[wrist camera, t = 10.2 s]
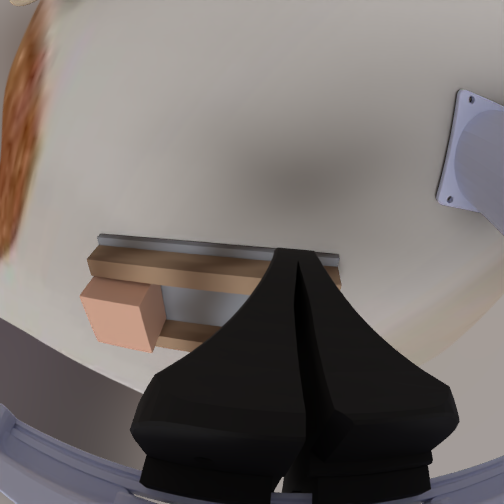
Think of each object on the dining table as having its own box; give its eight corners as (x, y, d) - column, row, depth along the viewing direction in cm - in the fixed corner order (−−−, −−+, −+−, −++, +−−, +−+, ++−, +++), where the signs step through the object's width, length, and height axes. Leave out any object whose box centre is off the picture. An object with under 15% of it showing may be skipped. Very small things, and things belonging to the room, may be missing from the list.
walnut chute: (338, 254, 21) (343, 276, 19) (314, 347, 26) (315, 369, 24) (100, 233, 22) (84, 251, 20) (124, 323, 27) (115, 342, 25)
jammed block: (158, 271, 22) (138, 306, 19) (166, 317, 25) (152, 353, 22) (102, 264, 23) (79, 295, 19) (116, 309, 26) (98, 341, 22)
